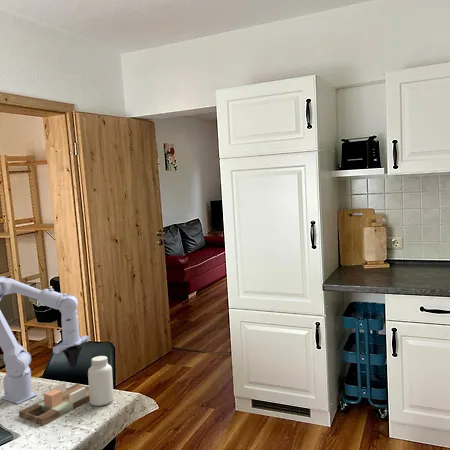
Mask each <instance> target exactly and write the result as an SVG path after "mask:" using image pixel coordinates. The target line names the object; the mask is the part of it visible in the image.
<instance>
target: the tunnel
mask: <svg viewBox="0 0 450 450" xmlns="http://www.w3.org/2000/svg"><path fill="white" fill-rule="evenodd" d="M53 389H56V390H59V391H62V393H63V392H65V391H67V390H66V389H67V382H64V381H62V382H61V383H58V384H56V385H54V386H52V387H49V391H50V390H53ZM84 397H86V388H85V387H83V388H81V389H79V390H77V391H75V392H73V393H71V394H69V398H70V403H72V404H73V403H74V402H76V401H78V400H80V399H82V398H84Z"/></svg>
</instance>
